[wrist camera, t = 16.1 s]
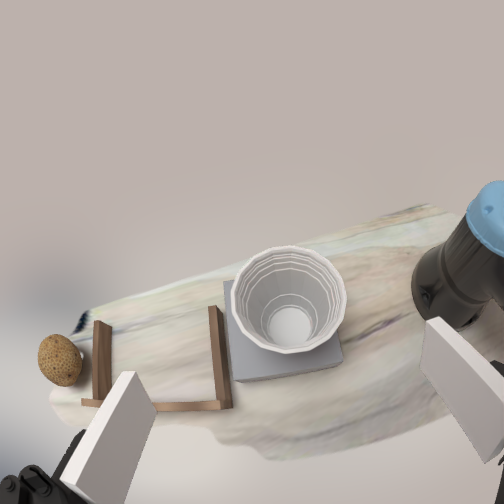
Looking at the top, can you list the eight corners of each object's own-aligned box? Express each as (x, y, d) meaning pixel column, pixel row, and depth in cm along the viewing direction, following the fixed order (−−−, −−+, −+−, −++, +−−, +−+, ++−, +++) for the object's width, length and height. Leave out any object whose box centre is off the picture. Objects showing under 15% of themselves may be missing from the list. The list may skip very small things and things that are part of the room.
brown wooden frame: (222, 313, 44) (210, 298, 38) (232, 407, 36) (220, 409, 30) (106, 327, 46) (83, 315, 40) (107, 408, 38) (81, 405, 32)
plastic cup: (345, 350, 33) (367, 326, 22) (263, 379, 33) (248, 369, 22) (315, 277, 38) (320, 228, 28) (240, 303, 38) (218, 262, 28)
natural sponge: (98, 387, 40) (60, 378, 31) (65, 391, 40) (28, 383, 31) (92, 340, 45) (57, 324, 36) (61, 348, 44) (27, 333, 36)
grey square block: (318, 280, 44) (320, 263, 39) (337, 366, 37) (343, 360, 32) (232, 296, 45) (223, 281, 40) (242, 382, 38) (233, 380, 33)
